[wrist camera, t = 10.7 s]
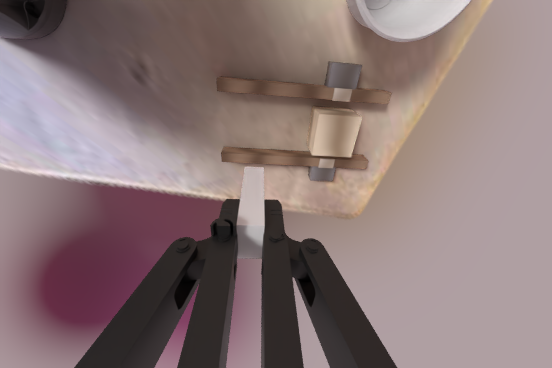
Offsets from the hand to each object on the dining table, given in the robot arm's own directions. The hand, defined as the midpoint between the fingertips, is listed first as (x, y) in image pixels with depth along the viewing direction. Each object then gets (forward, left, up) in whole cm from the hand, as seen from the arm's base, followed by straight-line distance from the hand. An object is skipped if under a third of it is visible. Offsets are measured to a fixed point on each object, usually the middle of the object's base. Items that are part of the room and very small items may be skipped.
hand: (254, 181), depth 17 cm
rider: (+11, 0, -19) cm, 22 cm away
